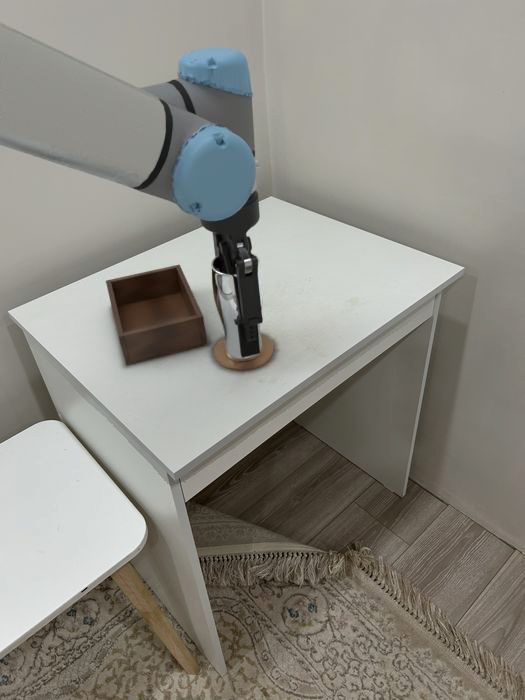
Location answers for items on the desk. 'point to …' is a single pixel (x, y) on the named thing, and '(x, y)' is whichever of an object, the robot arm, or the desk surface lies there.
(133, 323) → the crate
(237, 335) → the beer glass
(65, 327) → the desk surface
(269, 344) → the coaster
